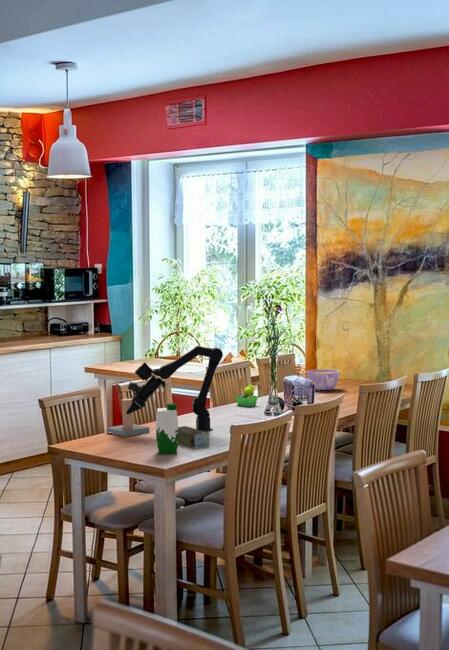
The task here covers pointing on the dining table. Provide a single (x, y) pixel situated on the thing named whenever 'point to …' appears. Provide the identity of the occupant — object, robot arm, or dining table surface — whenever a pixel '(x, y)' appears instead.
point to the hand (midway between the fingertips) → (127, 412)
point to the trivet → (128, 430)
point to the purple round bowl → (324, 378)
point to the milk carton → (167, 429)
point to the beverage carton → (192, 437)
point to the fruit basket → (247, 397)
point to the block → (127, 417)
